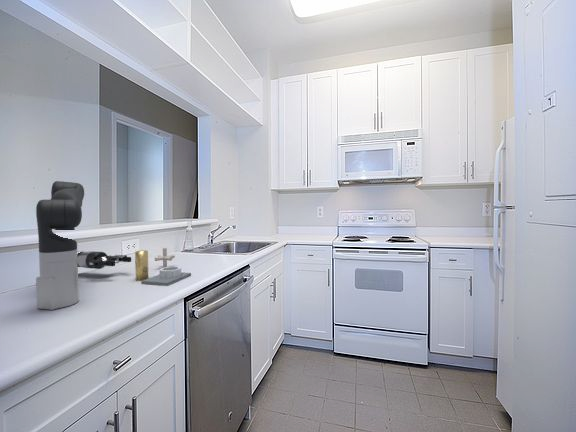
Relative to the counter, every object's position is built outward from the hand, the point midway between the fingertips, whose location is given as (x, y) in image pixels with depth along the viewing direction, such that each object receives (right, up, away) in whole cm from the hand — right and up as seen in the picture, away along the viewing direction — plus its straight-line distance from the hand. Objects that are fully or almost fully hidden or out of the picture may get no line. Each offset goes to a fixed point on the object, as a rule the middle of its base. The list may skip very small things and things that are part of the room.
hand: (122, 261), depth 117 cm
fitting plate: (+21, -7, -2) cm, 22 cm away
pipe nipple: (+9, -7, -2) cm, 12 cm away
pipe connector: (+9, -7, +20) cm, 23 cm away
